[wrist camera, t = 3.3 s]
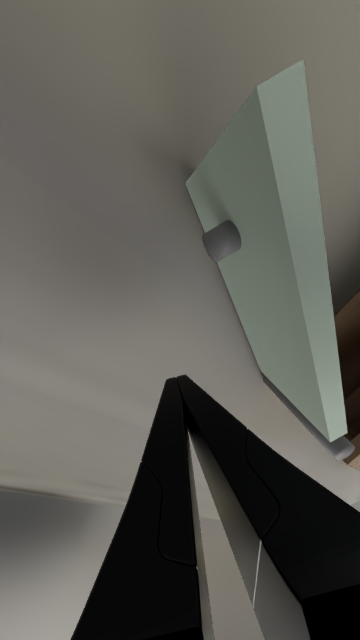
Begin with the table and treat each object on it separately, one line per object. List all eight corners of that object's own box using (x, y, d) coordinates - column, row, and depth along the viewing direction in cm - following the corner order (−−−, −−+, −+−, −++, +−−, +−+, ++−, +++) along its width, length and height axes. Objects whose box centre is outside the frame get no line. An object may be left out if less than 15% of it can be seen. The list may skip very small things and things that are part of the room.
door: (205, 171, 9) (317, 44, 3) (277, 378, 15) (355, 452, 10) (167, 193, 9) (214, 105, 3) (255, 390, 15) (320, 471, 10)
